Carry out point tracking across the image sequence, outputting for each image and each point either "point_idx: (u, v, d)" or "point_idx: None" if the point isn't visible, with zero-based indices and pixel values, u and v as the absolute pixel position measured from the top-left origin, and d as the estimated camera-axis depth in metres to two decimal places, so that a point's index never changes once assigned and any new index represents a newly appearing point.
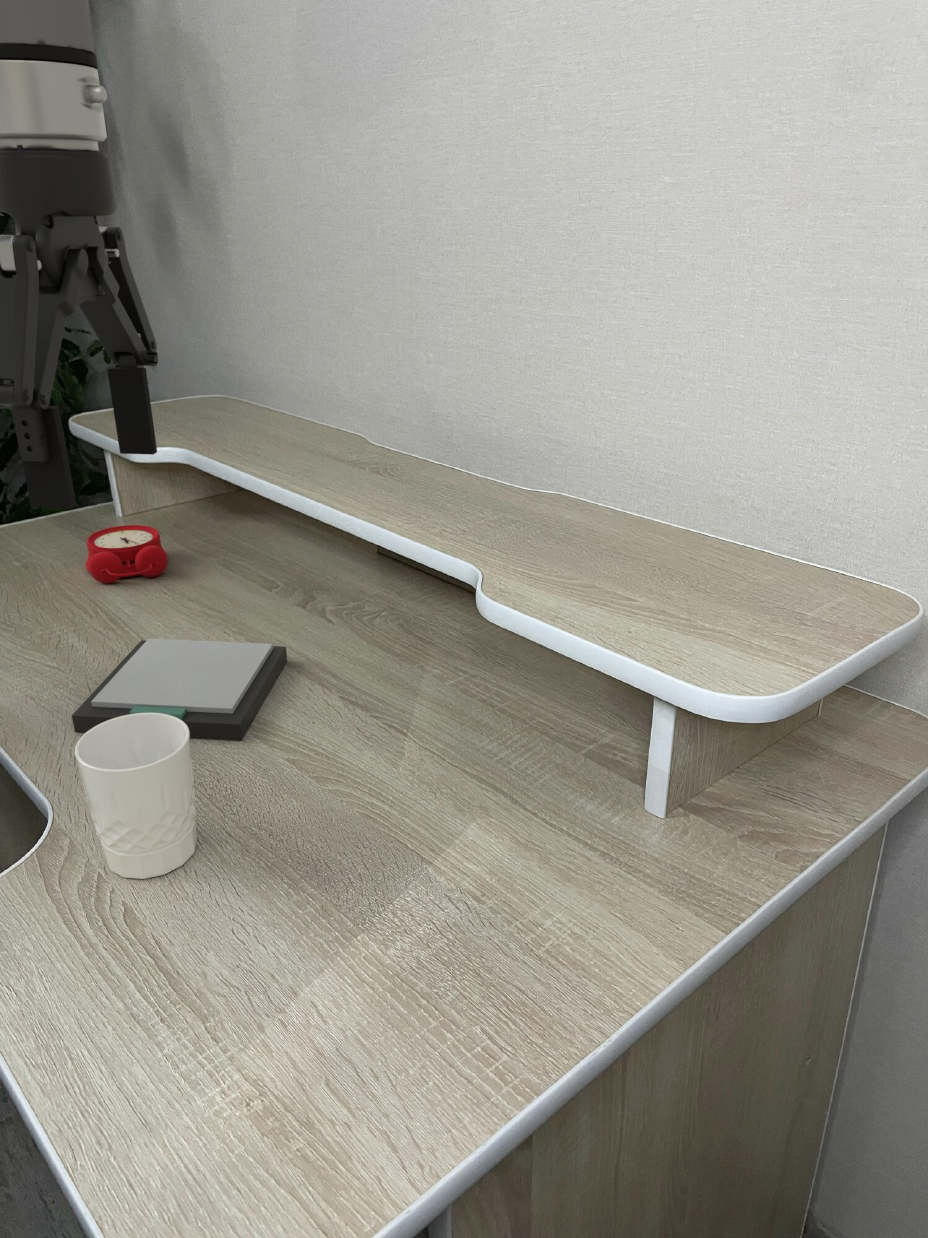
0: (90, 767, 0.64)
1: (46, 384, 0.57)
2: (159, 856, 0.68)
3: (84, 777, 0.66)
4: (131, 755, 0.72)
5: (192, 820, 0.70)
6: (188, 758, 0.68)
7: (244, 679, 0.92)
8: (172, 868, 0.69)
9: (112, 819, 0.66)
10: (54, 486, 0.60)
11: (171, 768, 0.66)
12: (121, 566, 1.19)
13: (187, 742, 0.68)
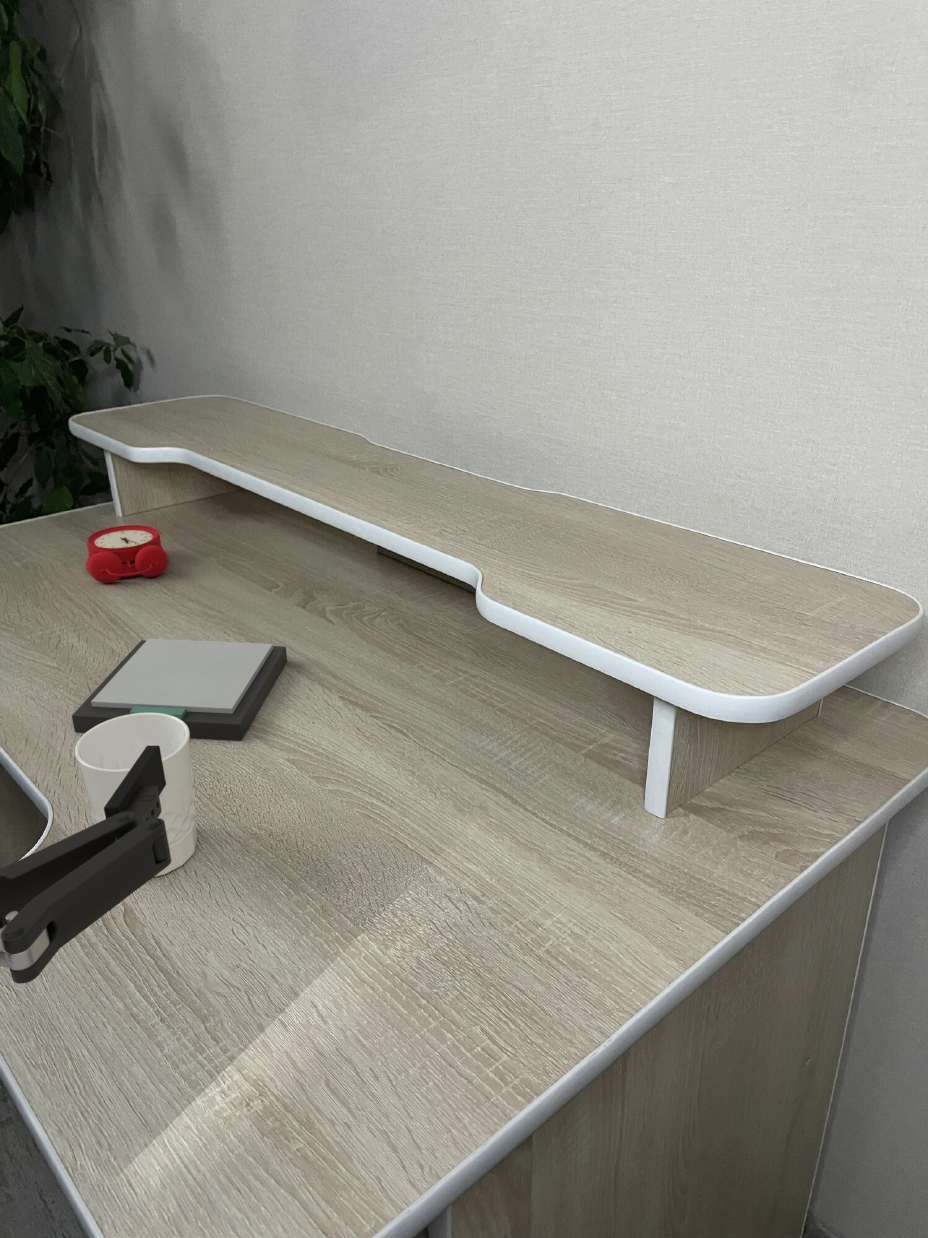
0: (90, 767, 0.64)
1: None
2: None
3: (84, 777, 0.66)
4: (131, 755, 0.72)
5: (192, 820, 0.70)
6: (188, 758, 0.68)
7: (244, 679, 0.92)
8: (172, 868, 0.69)
9: None
10: None
11: (171, 768, 0.66)
12: (121, 566, 1.19)
13: (187, 742, 0.68)
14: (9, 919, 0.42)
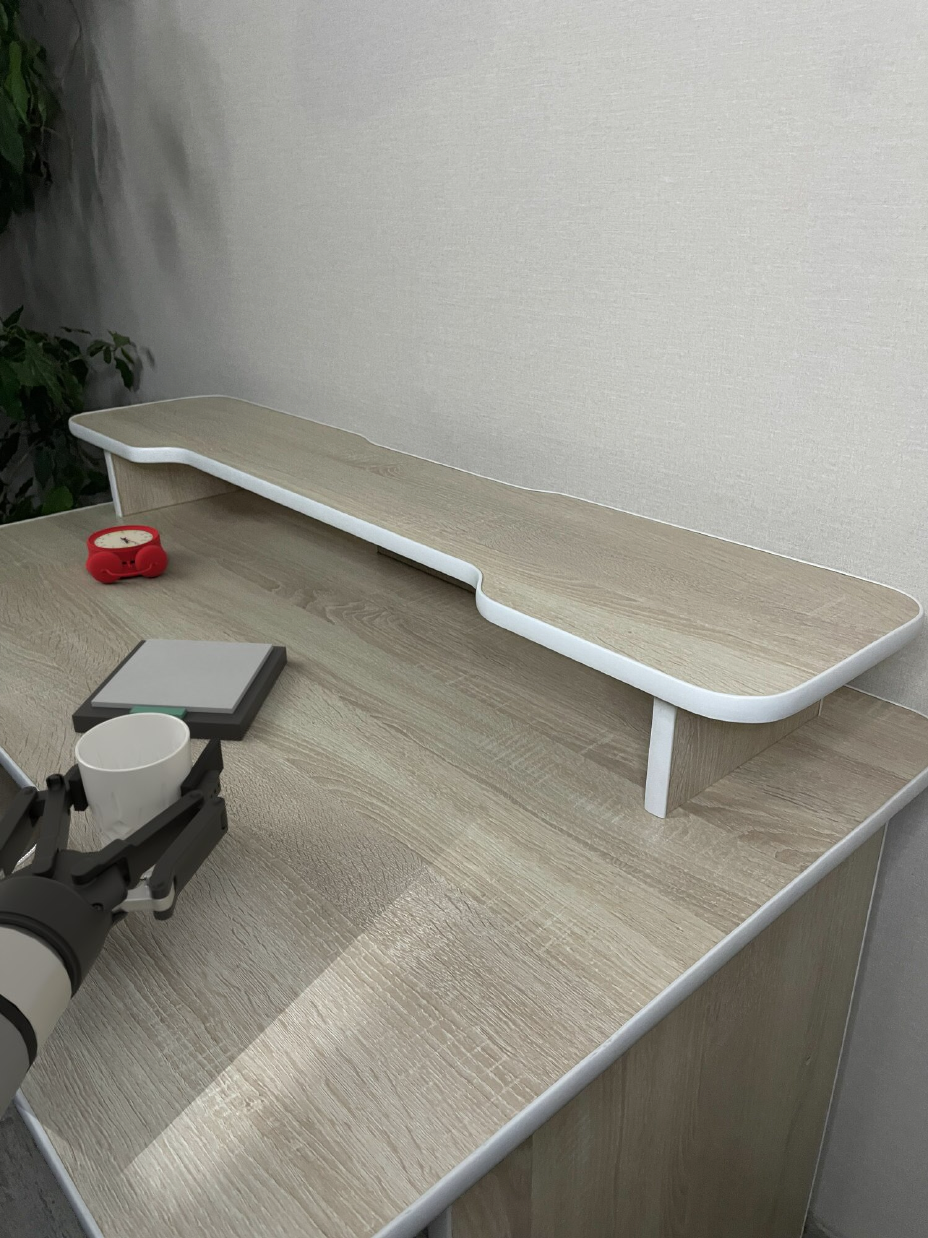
0: (90, 767, 0.64)
1: None
2: None
3: (84, 777, 0.66)
4: (131, 755, 0.72)
5: None
6: (188, 758, 0.68)
7: (244, 679, 0.92)
8: None
9: (113, 819, 0.66)
10: None
11: (171, 768, 0.66)
12: (121, 566, 1.19)
13: (187, 742, 0.68)
14: (148, 877, 0.58)
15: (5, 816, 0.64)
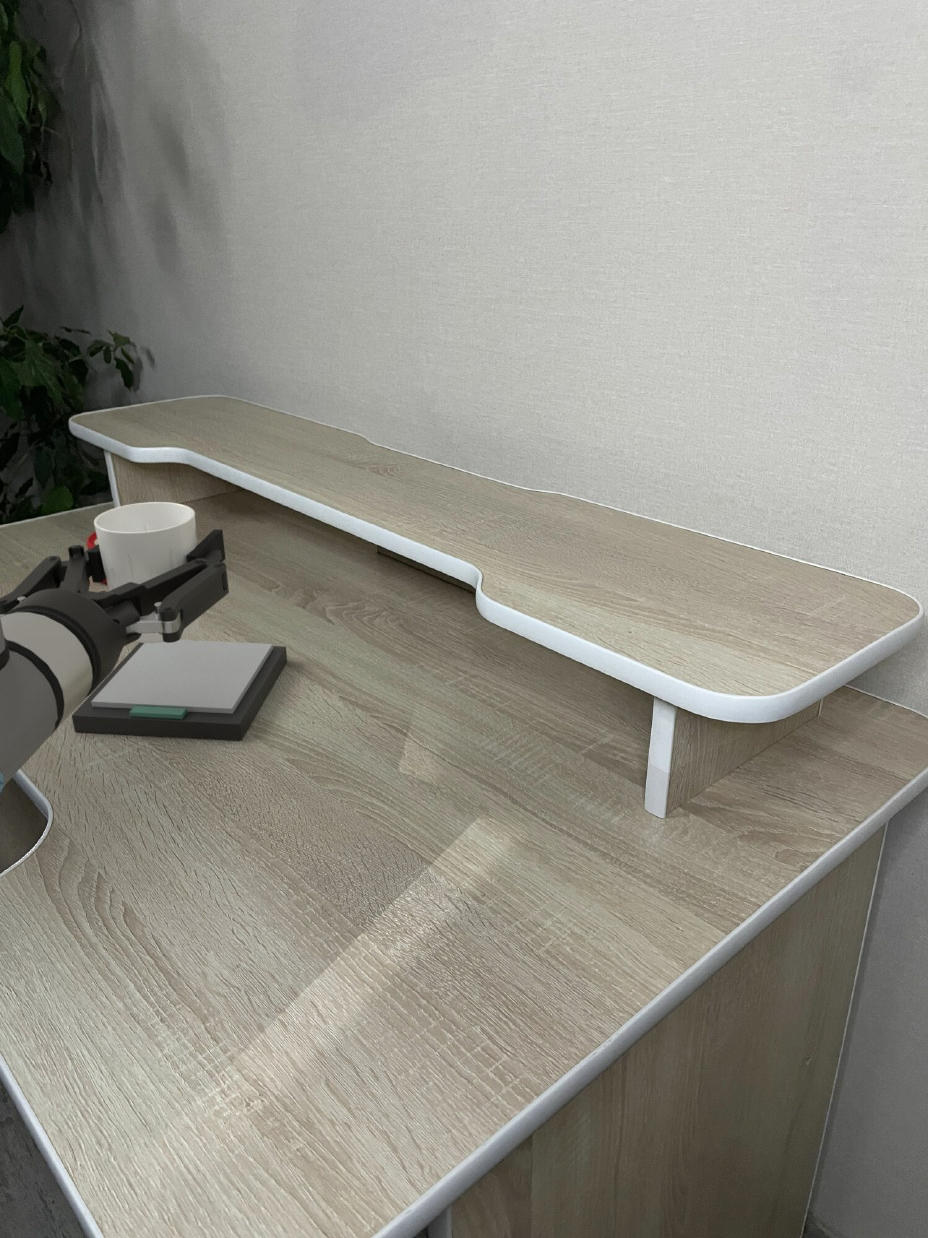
0: (107, 531, 0.73)
1: None
2: None
3: (102, 543, 0.74)
4: None
5: None
6: (194, 534, 0.77)
7: (244, 679, 0.92)
8: None
9: (127, 581, 0.75)
10: None
11: (179, 537, 0.75)
12: None
13: (193, 519, 0.76)
14: (158, 605, 0.67)
15: (33, 572, 0.73)
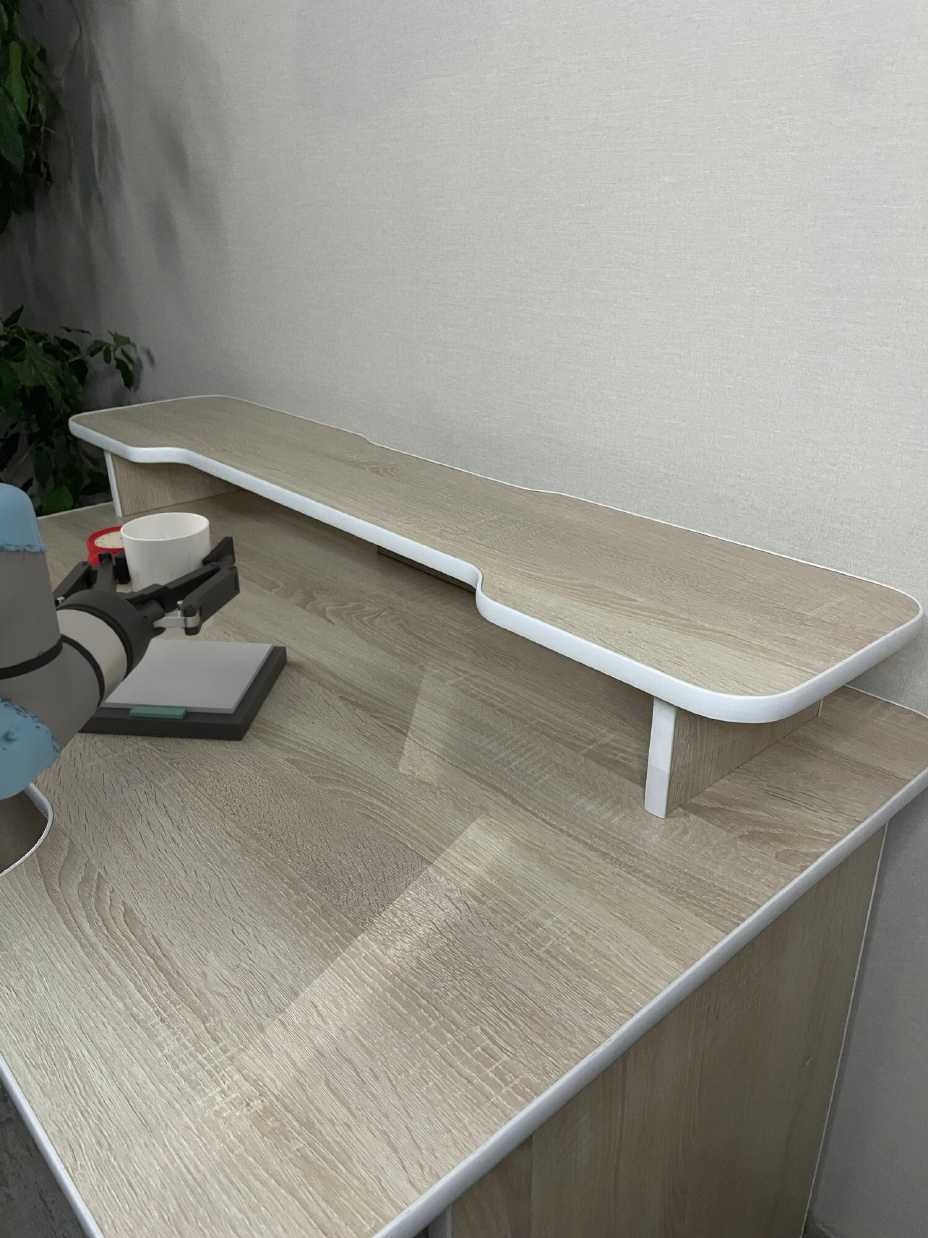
0: (133, 538, 0.83)
1: None
2: None
3: (128, 549, 0.85)
4: None
5: None
6: (208, 541, 0.87)
7: (244, 679, 0.92)
8: None
9: (150, 583, 0.85)
10: None
11: (195, 543, 0.85)
12: None
13: (207, 527, 0.87)
14: (180, 603, 0.77)
15: (68, 575, 0.83)
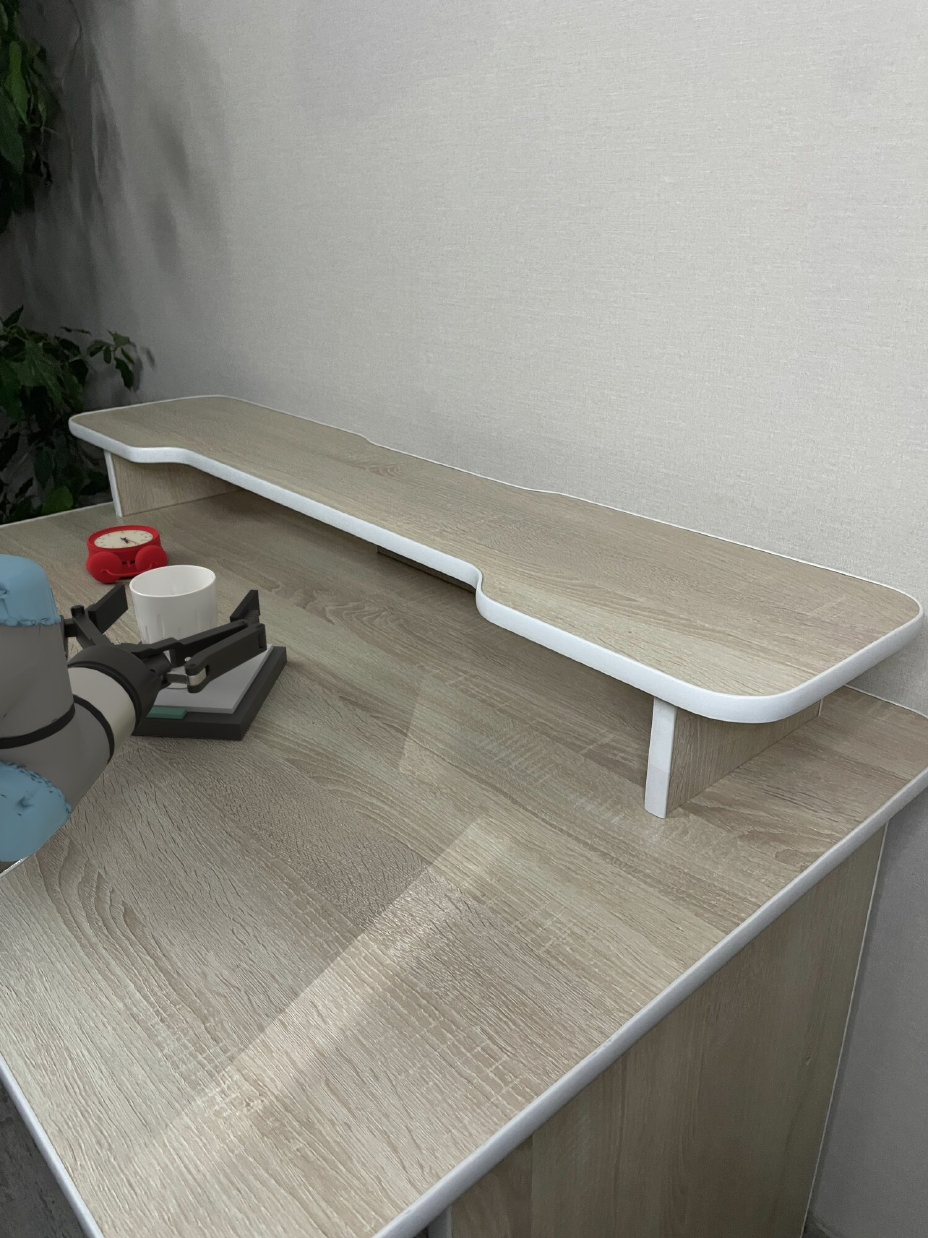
0: (142, 594, 0.86)
1: None
2: None
3: (137, 604, 0.87)
4: None
5: None
6: (215, 594, 0.89)
7: (244, 679, 0.92)
8: None
9: (158, 637, 0.87)
10: None
11: (203, 598, 0.87)
12: (121, 566, 1.19)
13: (214, 581, 0.89)
14: (187, 660, 0.79)
15: None
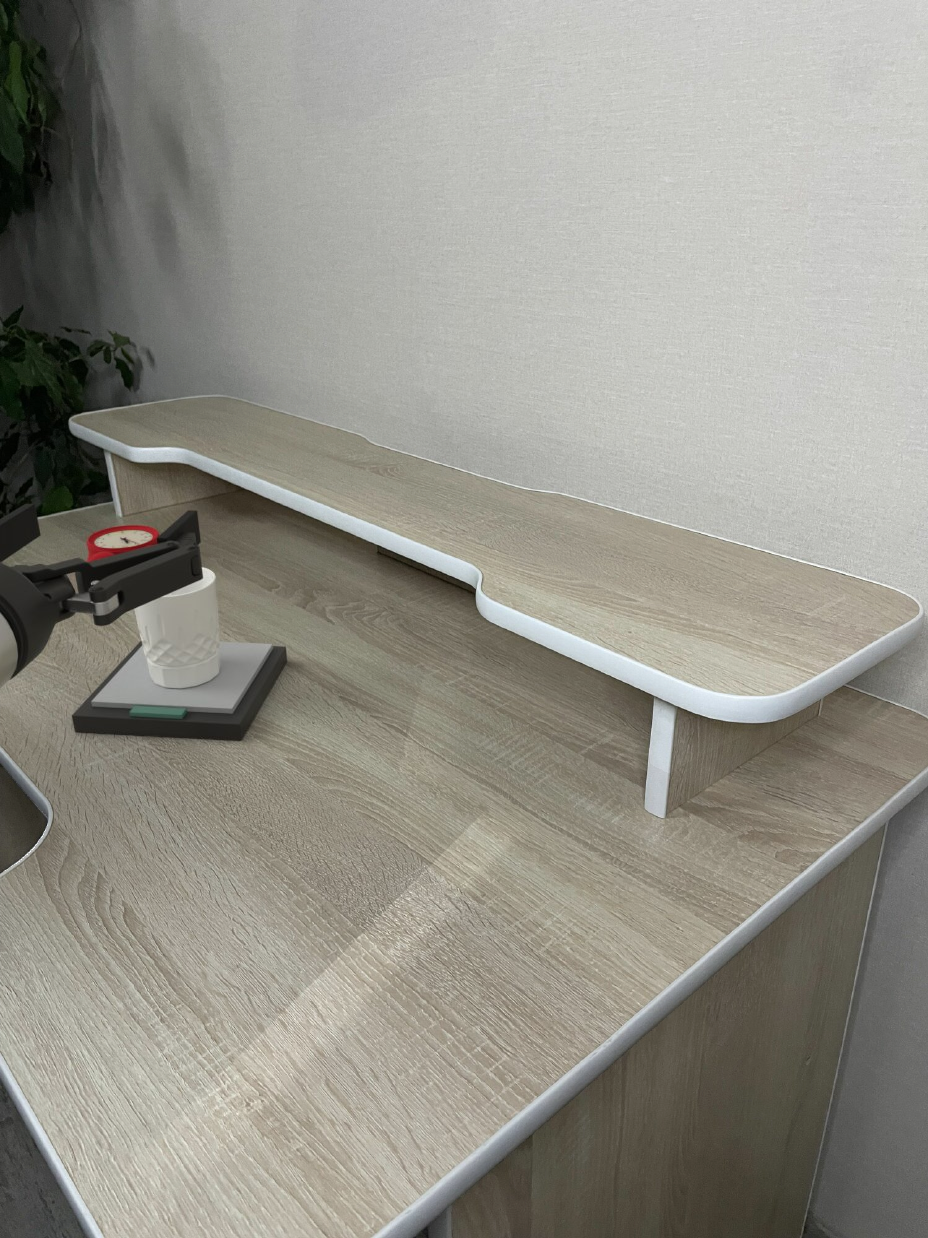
0: None
1: None
2: (193, 670, 0.89)
3: None
4: None
5: (217, 646, 0.92)
6: (215, 595, 0.89)
7: (244, 679, 0.92)
8: (202, 681, 0.91)
9: (158, 637, 0.87)
10: None
11: (202, 598, 0.87)
12: None
13: (214, 582, 0.89)
14: (93, 584, 0.62)
15: None
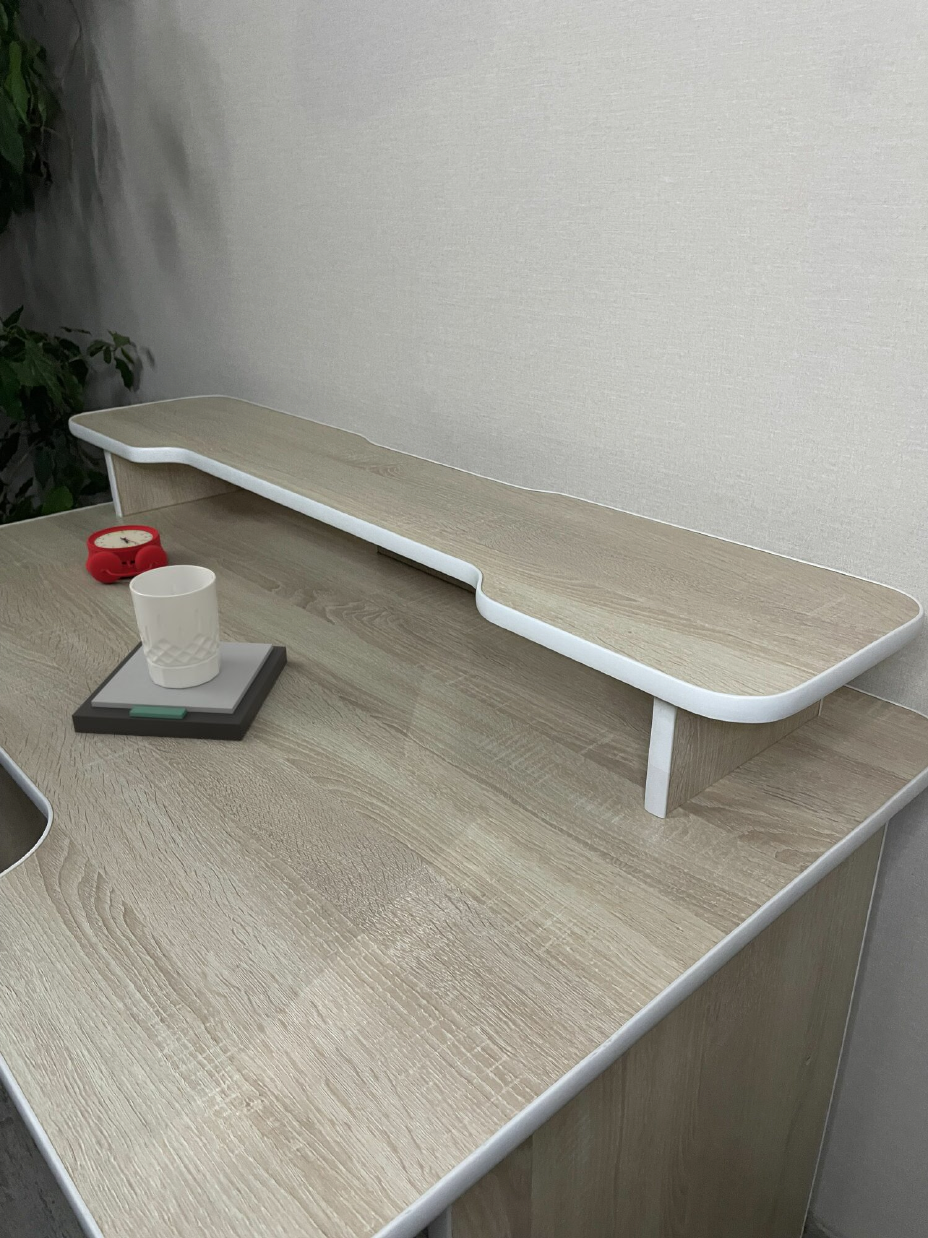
0: (142, 594, 0.86)
1: None
2: (193, 670, 0.89)
3: (137, 604, 0.87)
4: None
5: (217, 646, 0.92)
6: (215, 595, 0.89)
7: (244, 679, 0.92)
8: (202, 681, 0.91)
9: (158, 637, 0.87)
10: None
11: (202, 598, 0.87)
12: (121, 566, 1.19)
13: (214, 582, 0.89)
14: None
15: None
